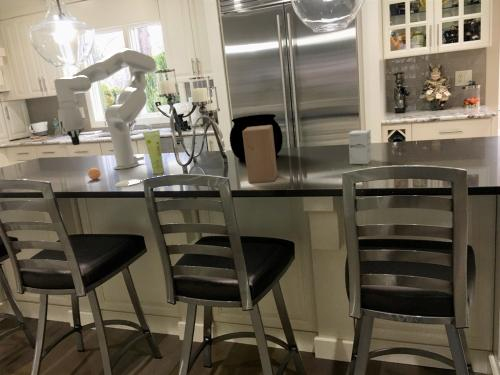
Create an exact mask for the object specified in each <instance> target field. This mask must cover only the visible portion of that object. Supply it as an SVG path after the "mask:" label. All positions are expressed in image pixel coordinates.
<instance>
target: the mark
mask: <svg viewBox="0 0 500 375" xmlns="http://www.w3.org/2000/svg"><path fill="white" fill-rule="evenodd" d="M139 179H140V183H139V184H142V183H141V180H143V179H142V178H139ZM127 180H128V179H126V180H122V181H119V182H116V183H115V184H114V186H115V187H116V188H124V187H123V186H127V187H129V186H128V184H129V182H128V181H127Z"/></svg>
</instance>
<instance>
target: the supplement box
mask: <svg viewBox="0 0 500 375" xmlns="http://www.w3.org/2000/svg"><path fill="white" fill-rule="evenodd" d="M371 140H372V139H371V130H370V129H369V130H368V129H363V130H362V129H361V130H357V129H356V130H352V131H350V132H348V151H349V152H348V153H349V154H348V155H349V164H350V165H368V164H369V163H370V162H371V161H372V142H371Z"/></svg>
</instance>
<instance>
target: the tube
mask: <svg viewBox="0 0 500 375" xmlns="http://www.w3.org/2000/svg"><path fill="white" fill-rule="evenodd" d="M160 132H161V130H160V129H157V130H152V131H146V132H142V136H143V138H144V141H145V144H146V148H147V151H148V156H149V160H150V164H151V169H152V172H153V175H160V174H163V173H164V172H165V170H164V169H165V168H164V162H163V156H162V146H161V138H160V136H161V135H160V134H161V133H160Z"/></svg>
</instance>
